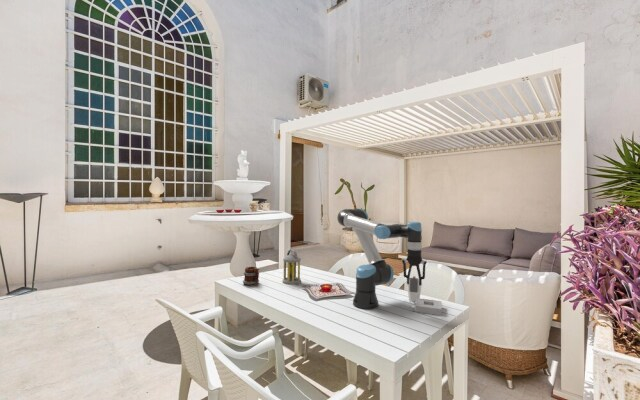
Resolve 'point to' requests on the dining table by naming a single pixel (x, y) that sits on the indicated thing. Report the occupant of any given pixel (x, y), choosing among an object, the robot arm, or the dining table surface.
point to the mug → (251, 276)
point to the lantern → (291, 268)
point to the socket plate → (428, 306)
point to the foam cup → (414, 294)
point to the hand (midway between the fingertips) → (414, 290)
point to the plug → (414, 284)
